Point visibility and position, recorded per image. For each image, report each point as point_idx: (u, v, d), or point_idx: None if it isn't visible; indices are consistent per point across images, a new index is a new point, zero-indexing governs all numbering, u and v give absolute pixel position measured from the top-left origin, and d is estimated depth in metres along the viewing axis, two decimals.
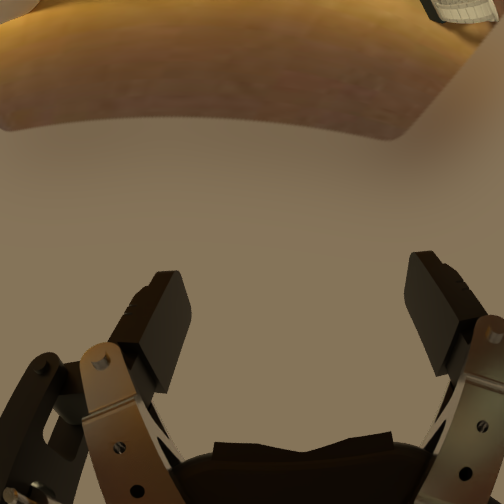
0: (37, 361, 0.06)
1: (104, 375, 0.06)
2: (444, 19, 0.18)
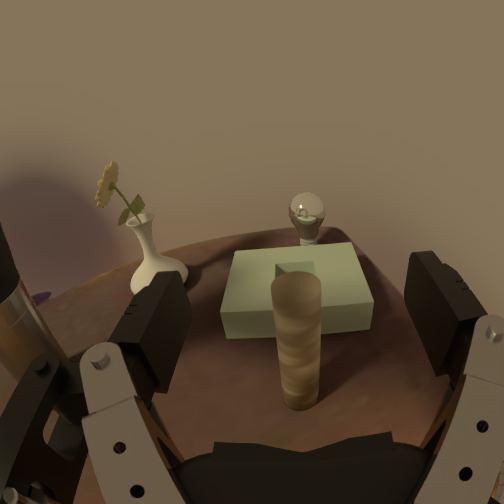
0: (37, 361, 0.06)
1: (104, 375, 0.06)
2: None
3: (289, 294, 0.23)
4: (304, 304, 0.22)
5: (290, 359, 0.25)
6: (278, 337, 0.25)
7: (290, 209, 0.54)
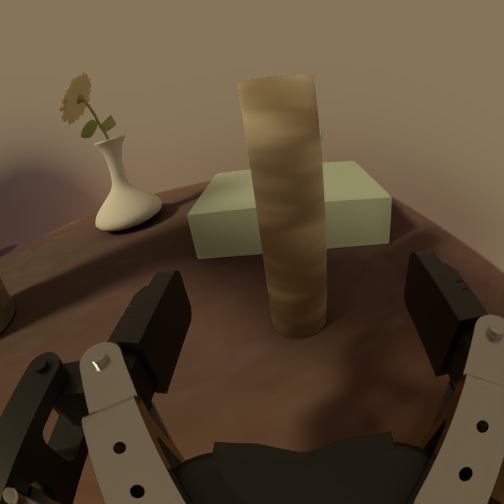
0: (37, 361, 0.06)
1: (104, 375, 0.06)
2: None
3: None
4: (287, 84, 0.12)
5: (275, 209, 0.16)
6: (253, 169, 0.16)
7: None
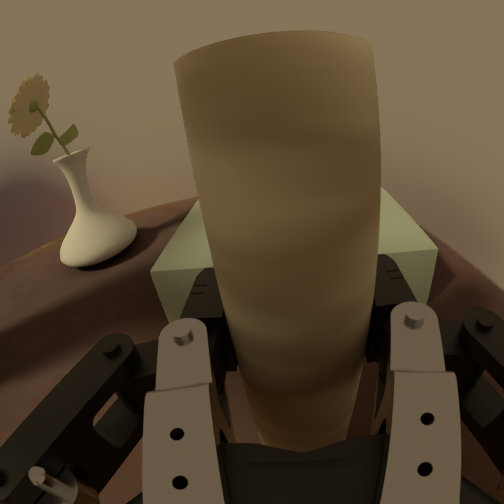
0: (107, 342, 0.07)
1: (183, 352, 0.06)
2: None
3: None
4: (310, 56, 0.04)
5: (269, 368, 0.07)
6: (219, 282, 0.07)
7: None
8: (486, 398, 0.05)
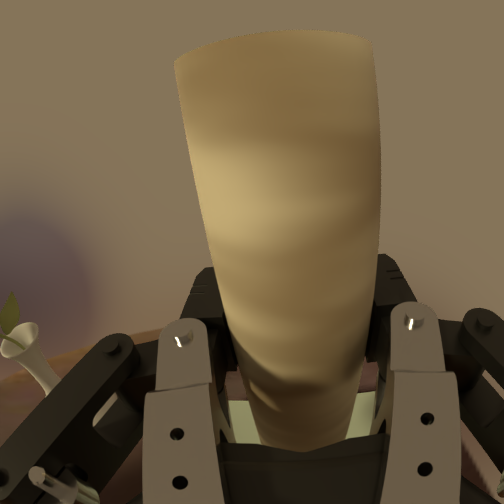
0: (107, 342, 0.07)
1: (182, 353, 0.06)
2: None
3: None
4: (311, 55, 0.04)
5: (269, 368, 0.07)
6: (220, 282, 0.07)
7: None
8: (486, 398, 0.05)
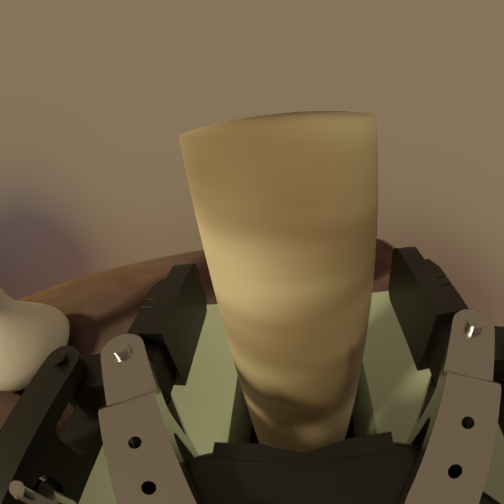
0: (55, 354, 0.06)
1: (125, 367, 0.06)
2: None
3: (246, 127, 0.05)
4: (315, 155, 0.04)
5: (271, 403, 0.08)
6: (227, 334, 0.07)
7: None
8: None
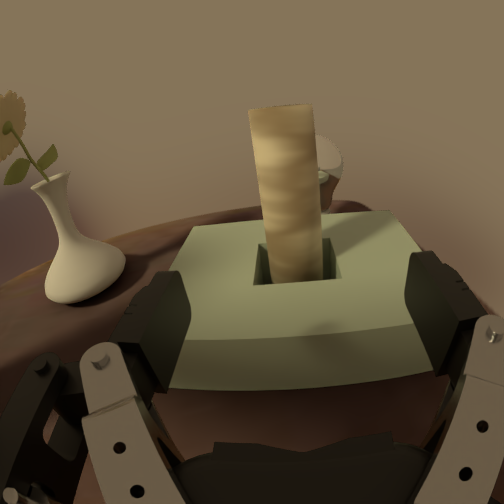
0: (37, 361, 0.06)
1: (104, 375, 0.06)
2: None
3: None
4: (290, 113, 0.16)
5: (279, 217, 0.19)
6: (261, 184, 0.19)
7: None
8: None
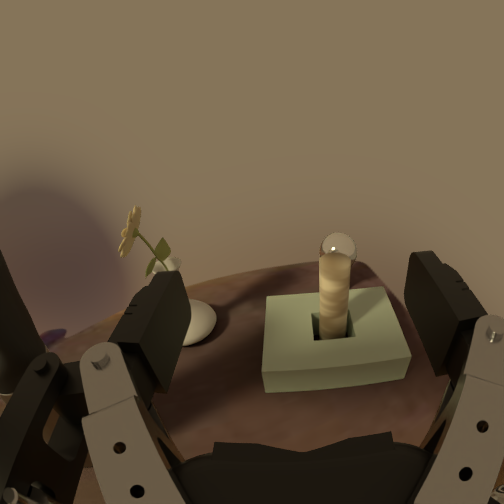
0: (37, 361, 0.06)
1: (104, 375, 0.06)
2: None
3: (332, 265, 0.36)
4: (341, 271, 0.35)
5: (330, 311, 0.39)
6: (322, 296, 0.39)
7: (322, 251, 0.52)
8: None
